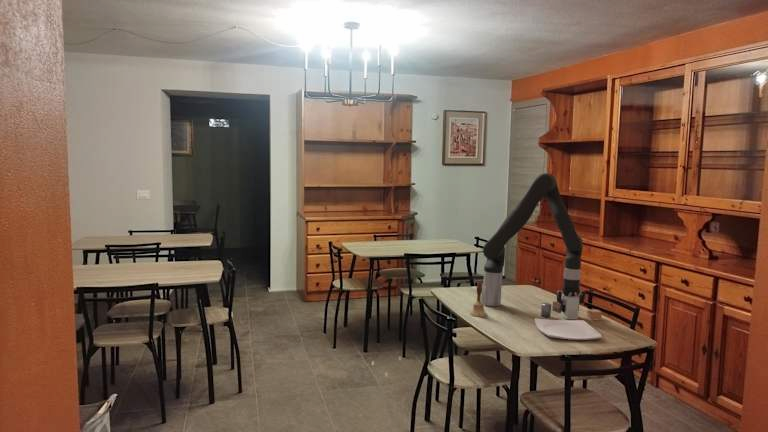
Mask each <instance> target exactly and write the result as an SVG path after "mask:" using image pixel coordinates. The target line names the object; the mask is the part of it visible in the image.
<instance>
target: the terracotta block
mask: <svg viewBox="0 0 768 432" xmlns="http://www.w3.org/2000/svg"><path fill="white" fill-rule="evenodd" d="M586 310H587V313H586V318H587V317H588V318H589V320H590V319H591V320H590V321H595V320H594V319H601V320H602V316H603V312H602V311H600V309H586ZM588 318H587V319H588Z"/></svg>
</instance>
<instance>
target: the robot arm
mask: <svg viewBox="0 0 768 432" xmlns="http://www.w3.org/2000/svg"><path fill="white" fill-rule="evenodd" d="M556 179H557V178H555V176H554V175H553V174H551V173H548V172H545V173H541V174H538V175H537V176H536V177H535V178H534V180H533V182H532V183H531V185H530V187H529V188H528V190H527V192H526V193H525V194H524V196H523V197H521V199H520V200H519V201H518V202H517V204H516V205H515V206H514V207H513V208H512V209H511V211H510V212H509V213H508V215H507V216H506V217H505V219H504V221H503V222H502V223H501V225H500V226H499V228H498V229H497V231H496V232H495V233H494V234H493V235H492V236H491V238H489V239H488V240H487V241H486V243H485V244H484V246H483V248H482V252H483V255H484V257H485V258H486V261H485V264H484V267H483V284H482V292H481V300H480V301H481V303H483V306H485V307H500V306H501V304H502V303H501V302H502V290H503V289H502V287H503V285H502V284H503V269H504V265H505V260H506V257H505V256H506V247H505V246H506V245H507V244H508V242H509V241H510V240H511V239H512V238H513V237H514V236H515V235H517V234H518V233H519V232H520V230H522V229H523V228H524V227H525V226H526V224H527V222H528V221H529V220H530V219H531V217H532V215H533V213H534V211H535V210H536V209H537V206H538V204H539V203H540V202H541V200H542V199H543V198H544V197H545V198H546V200H547V201H548V204H549V207H550V209H551V213H552V215H553V219H554V222H555V224H556V226H557V228H558V230H559V232H560V234H561V237H562V239H563V243H564V245H565V247H566V256H565V260H564V261H565V262H564V269H563V282H562V283H563V284H562V290H559V289H558V290H556V301H557V302H558V303H560V304H561V311H562V312H563V313H564V312H565V304H566V298H564V296H566V297H570V296H575V297H578V298H579V306H580V305H581V304H584V302H585V297H586V291H585V290H583V289H581V290H580V288H581V277H582V275H581V274H582V272H581V269H582V268H581V265H582V253H583V246H584V242H583V241H584V240H583V238H582V237H581V236H579V235H578V233H577V232H576V228H575V225H574V222H573V220H572V218H571V216H570V214H569V211H568V209H567V208H566V206H565V203H564V201H563V198H562V196H561V192H560V191H559V187H558V184H557V180H556ZM562 294H564V295H563V297H562ZM579 311H580V309H579V310H578V312H579Z"/></svg>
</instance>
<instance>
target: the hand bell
mask: <svg viewBox="0 0 768 432" xmlns="http://www.w3.org/2000/svg"><path fill="white" fill-rule="evenodd" d="M482 285H483V284H482V281H478V282H477V285H476V295H477V296H476V302H474V303H473V305H472V306H473V307H472V310H471V311H470V312H469V316H472V317H476V318H485V317H487V316H488V313H487V312H486V311H485V308H484V304H483V303H481V295H482Z"/></svg>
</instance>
